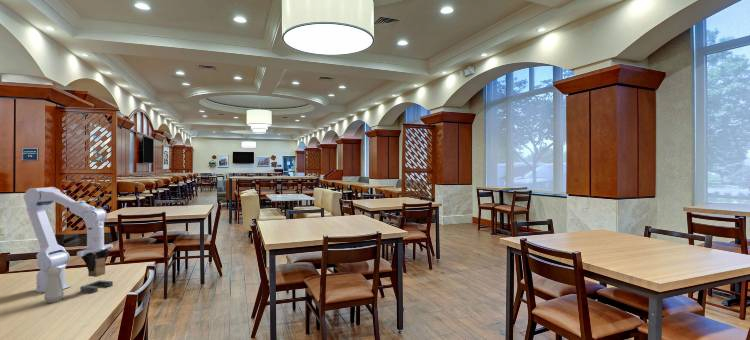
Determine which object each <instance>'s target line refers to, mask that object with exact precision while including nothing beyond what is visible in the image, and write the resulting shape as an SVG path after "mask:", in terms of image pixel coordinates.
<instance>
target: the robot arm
mask: <svg viewBox="0 0 750 340" xmlns="http://www.w3.org/2000/svg"><path fill="white" fill-rule="evenodd" d="M23 200H24V202H25V205H26V211H27V214H28V217H29V220H30V223H31V227H32V228H33V232H34V234H35V237H36V239H37V242H38V245H39V247H40V250H39V251H38V253H37V254H36V255H35V256H36V259H37V260H36V266H37V267H38V269H39V271H38V272H37V274H36V278H35V279H36V280H35V281H36V282H35V283H36V289H35V290H34V292H38V293H39V292H40V293H45V291H46V286H47V281H48V276H49V275H47V274H46V272H47V270H48V269H50V268H55V267H59V268H61V273H60V274H59V276H60V280H61V285H62V288H63V290H65V289H67V288H71V287H72V286H71V285H69V284H66V267H67V265H68V264H69V262H70V260H71V256H70V253H69V252H68V251H66V250H67V249H65V247H64V246H62V245H60V244H59V243H58V241H57V239H56V237H55V234H54V231H53V228H52V226H51V223H50V220H49V217H48V215H47V212H46V211H47V209H48V208H49V207H50V206H51V205H52V204H54V203H56V204H57V203H58V204H59V205H62V206H64V207H65V208H67V209H68V208H69V212H71V213H72V214H73V215H76V216H78V217H80V218H81V219H82V220H83V222H84V223H85V227H86V245H87V247H86V248H84V249H82V250H79V251H77V252H76V257H81V259H82V260H83V262H84V263H85V266H86V268H87V270H88V271H94V262H95V258H96V257H101V258H105V263H106V261H107V259H108V257H109V255H110V254H111V249H114V244H113V243H108V244H105V221H106V220H107V218H108V213H107V211H106V210H105V209H104V208H102V207H99V208H97V207H95V206H93V205H90V204H88V203H87V202H86V201H85V200H77V201H76V200H75V199H73V198H71V197H70V196H68V195H66V194H64V193H63V192H61V190H60V189H59V188H56V187H54V186H49V187H46V186H45V187H36V188H35V187H30V188H28V189H27V190H26V191H25V192H24V195H23ZM109 249H110V250H109Z"/></svg>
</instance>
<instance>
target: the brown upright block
mask: <svg viewBox="0 0 750 340" xmlns="http://www.w3.org/2000/svg"><path fill="white" fill-rule="evenodd" d="M104 275H106V262H105V258H101V257H97V256H96V258H95V262H94V271H88V277H93V278H95V277H96V278H98V277H100V276H104Z"/></svg>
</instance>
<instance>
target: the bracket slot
mask: <svg viewBox="0 0 750 340" xmlns="http://www.w3.org/2000/svg"><path fill="white" fill-rule="evenodd" d="M113 283H114V281H113V280H101V279H100V280H96V281H93V282H91V283H88V284H85V285H82V286H80V287H79V288H80V289H79V291H80V292H82V293H97V292H99V291H98V290H99V287H104V288H105V287H106V288H107V287H108V288H111V287H113V286H114V284H113Z"/></svg>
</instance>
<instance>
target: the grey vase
mask: <svg viewBox="0 0 750 340" xmlns="http://www.w3.org/2000/svg"><path fill="white" fill-rule="evenodd" d="M60 273H61V268H59V267H55V268H50V269H48V270H47V272H46V274H47V275H49V276H48V281H47V286H46V291H45V292H44V295H43V297H44V300H45V301H46V303H47V304H54V303H53V302H55V303H58V302H60V300H61V301H62V300H63V297H64V295H65V293H64V289H63V288H62V285H61V280H60V276H59V274H60Z"/></svg>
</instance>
